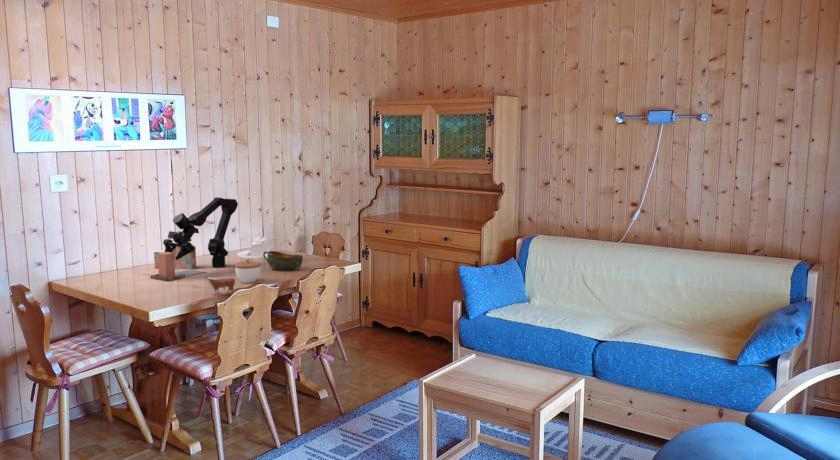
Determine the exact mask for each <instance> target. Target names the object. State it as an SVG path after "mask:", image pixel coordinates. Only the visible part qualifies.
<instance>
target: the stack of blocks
mask: <svg viewBox="0 0 840 460" xmlns="http://www.w3.org/2000/svg"><path fill="white" fill-rule="evenodd" d="M193 246H194V247H195V250H194V251H193V252H191V253H189V254H187V255H185V256H183V257H181V258H180V259H178V260H176V259H175V258H176V256H177V254H178V253H179V251H180V247H176V248H175V249H174V251H173V252H172V253H174V261H175V270H190V269H192V270H194V269H195V268H197V254H196V253H197V252H196V245H193ZM164 252H165V249H159V250H156V251H154V252H153V259H154V261H153V262H154V269H159V264H158V254H159V253H164Z"/></svg>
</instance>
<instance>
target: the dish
mask: <svg viewBox="0 0 840 460" xmlns="http://www.w3.org/2000/svg"><path fill="white" fill-rule="evenodd" d="M253 239H254V241H253V242H252V243H251V244H250V249H248V250H241V251H239V252H237V257H238V258H243V259H265V258H264V256H263V253H264V252H266V251H267V252H269V251H277V252H280V251H278V250H277V249H276V250H275V249H271V242H270V241H266V240H267V236H260V235H258V236H255V237H253ZM265 257H266V258H267V259H268V253H266V254H265Z"/></svg>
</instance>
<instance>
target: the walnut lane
mask: <svg viewBox="0 0 840 460" xmlns="http://www.w3.org/2000/svg"><path fill="white" fill-rule="evenodd" d="M184 277H185V278H186V276H185V274H183V275H175V276H174V277H170V278H165V277H160V276H159V273H156V274H152V275H150V279H152V280H158V281H163V282H170V281H175V280H180V279H184Z"/></svg>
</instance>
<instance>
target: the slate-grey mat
mask: <svg viewBox="0 0 840 460" xmlns="http://www.w3.org/2000/svg"><path fill="white" fill-rule="evenodd" d="M205 273H206V271H205V270H204V271H203V270H197V269H184V270H182V271H177V272H176V271H175V276H179V275H183V274H185V277H192V275H193V276H196V275H201V274H205Z"/></svg>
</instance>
